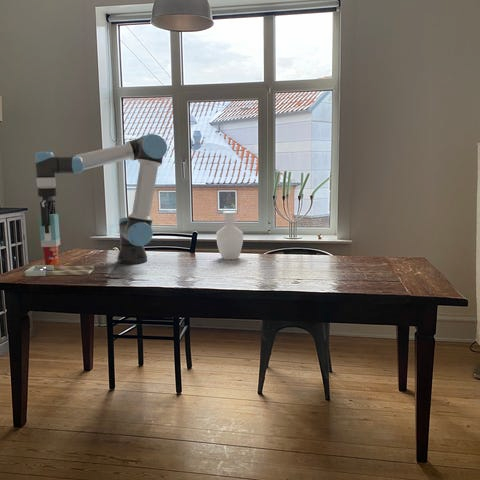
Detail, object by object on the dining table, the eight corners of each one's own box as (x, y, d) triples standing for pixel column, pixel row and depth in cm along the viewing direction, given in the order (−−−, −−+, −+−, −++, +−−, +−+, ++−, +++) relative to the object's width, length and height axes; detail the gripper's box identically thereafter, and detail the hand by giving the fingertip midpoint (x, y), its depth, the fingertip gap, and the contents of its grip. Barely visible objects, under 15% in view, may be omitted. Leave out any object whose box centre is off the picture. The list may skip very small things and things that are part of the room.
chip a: (44, 273, 203) (44, 268, 203) (42, 275, 200) (42, 269, 199) (34, 273, 203) (34, 268, 202) (32, 275, 199) (32, 270, 198)
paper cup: (54, 268, 217) (52, 239, 215) (39, 267, 218) (37, 239, 216) (63, 265, 225) (61, 237, 222) (49, 264, 226) (47, 236, 224)
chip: (47, 271, 208) (47, 266, 207) (45, 273, 204) (44, 267, 203) (38, 271, 207) (38, 266, 207) (35, 273, 203) (35, 268, 203)
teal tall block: (60, 244, 205) (58, 213, 203) (56, 246, 199) (54, 215, 197) (45, 244, 205) (43, 214, 202) (41, 247, 199) (38, 215, 197)
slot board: (94, 270, 211) (93, 265, 211) (88, 276, 200) (88, 270, 200) (54, 271, 209) (54, 266, 209) (46, 277, 198) (46, 271, 198)
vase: (248, 257, 244) (248, 211, 240) (233, 261, 232) (233, 213, 228) (226, 254, 251) (226, 210, 247) (211, 259, 239) (210, 212, 236)
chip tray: (53, 271, 210) (53, 265, 209) (45, 277, 198) (44, 270, 197) (34, 271, 209) (34, 265, 208) (25, 277, 197) (24, 271, 197)
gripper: (44, 186, 207) (48, 236, 211) (30, 188, 188) (34, 242, 192) (61, 186, 208) (65, 236, 211) (48, 188, 189) (52, 242, 193)
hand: (50, 239), depth 202 cm, fingers closed on teal tall block, 6 cm apart
